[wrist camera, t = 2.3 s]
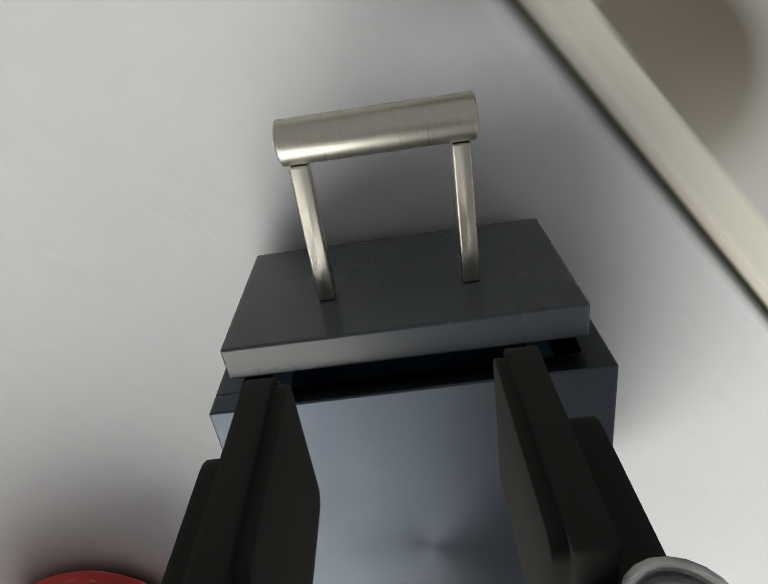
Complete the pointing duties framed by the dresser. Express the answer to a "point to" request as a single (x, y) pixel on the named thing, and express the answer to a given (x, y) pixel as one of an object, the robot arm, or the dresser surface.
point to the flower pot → (90, 578)
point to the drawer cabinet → (423, 466)
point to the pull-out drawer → (397, 268)
